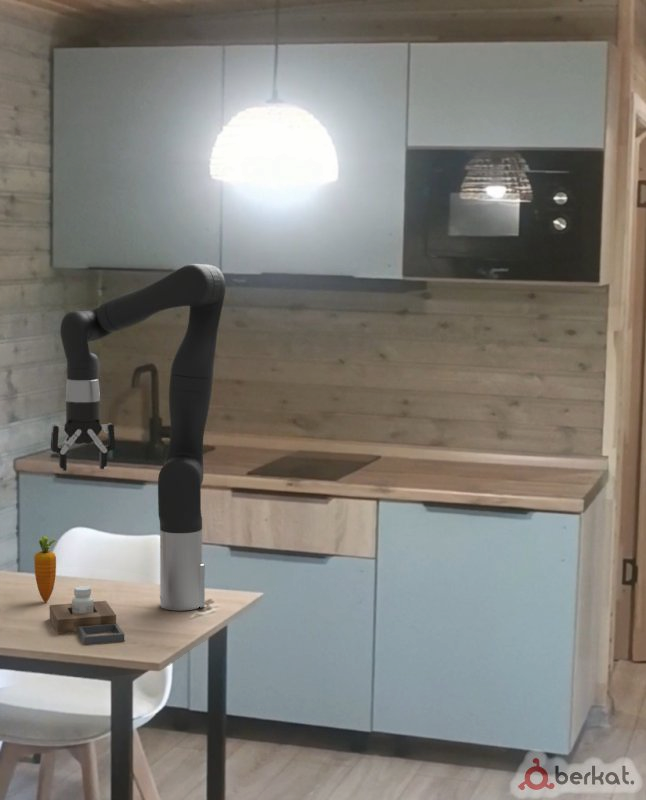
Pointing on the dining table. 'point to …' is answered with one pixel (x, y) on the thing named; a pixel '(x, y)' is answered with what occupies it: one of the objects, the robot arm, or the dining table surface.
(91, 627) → the tray
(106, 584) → the dining table surface
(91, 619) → the socket block
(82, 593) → the pill bottle
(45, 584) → the carrot
